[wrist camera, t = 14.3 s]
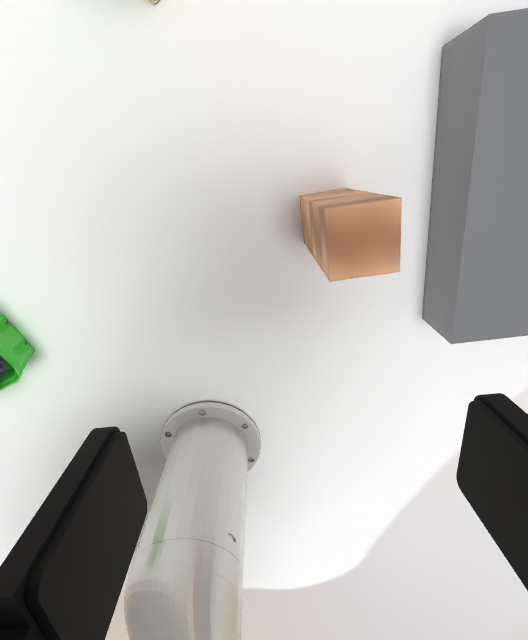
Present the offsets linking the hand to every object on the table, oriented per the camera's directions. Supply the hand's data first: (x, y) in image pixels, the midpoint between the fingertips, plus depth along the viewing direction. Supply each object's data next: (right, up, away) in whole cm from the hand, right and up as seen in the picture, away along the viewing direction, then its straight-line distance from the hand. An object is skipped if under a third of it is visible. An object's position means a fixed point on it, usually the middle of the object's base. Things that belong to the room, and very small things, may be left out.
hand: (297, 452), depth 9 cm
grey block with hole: (+23, +16, +22) cm, 35 cm away
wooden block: (+5, +14, +23) cm, 27 cm away
